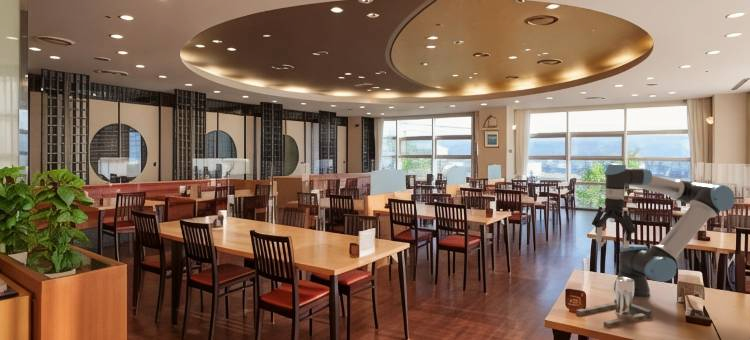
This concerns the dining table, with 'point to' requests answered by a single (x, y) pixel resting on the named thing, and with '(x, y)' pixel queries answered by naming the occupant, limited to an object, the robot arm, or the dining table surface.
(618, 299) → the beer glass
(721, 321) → the dining table surface
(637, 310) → the guide track
